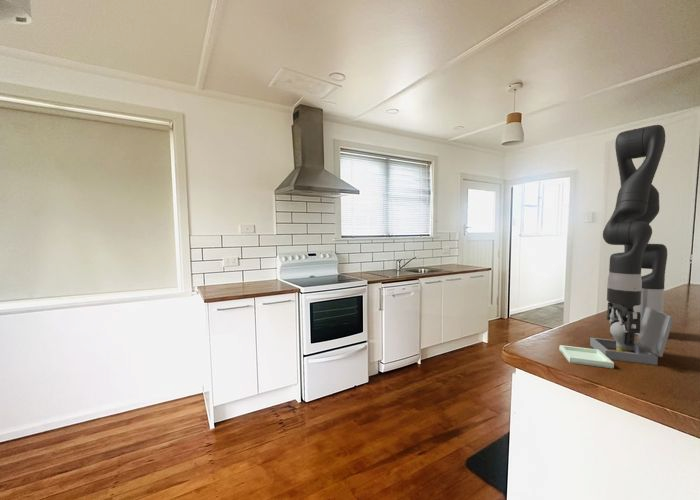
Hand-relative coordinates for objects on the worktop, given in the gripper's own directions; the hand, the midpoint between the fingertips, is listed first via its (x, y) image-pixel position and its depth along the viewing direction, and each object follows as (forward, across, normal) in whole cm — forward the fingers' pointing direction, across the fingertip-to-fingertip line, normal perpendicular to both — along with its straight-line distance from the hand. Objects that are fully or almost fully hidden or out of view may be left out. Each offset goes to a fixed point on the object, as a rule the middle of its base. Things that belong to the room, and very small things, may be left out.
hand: (621, 340), depth 89 cm
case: (+4, 0, 0) cm, 4 cm away
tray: (+4, -8, +11) cm, 14 cm away
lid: (-4, 0, -7) cm, 8 cm away
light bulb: (+4, 0, 0) cm, 4 cm away
